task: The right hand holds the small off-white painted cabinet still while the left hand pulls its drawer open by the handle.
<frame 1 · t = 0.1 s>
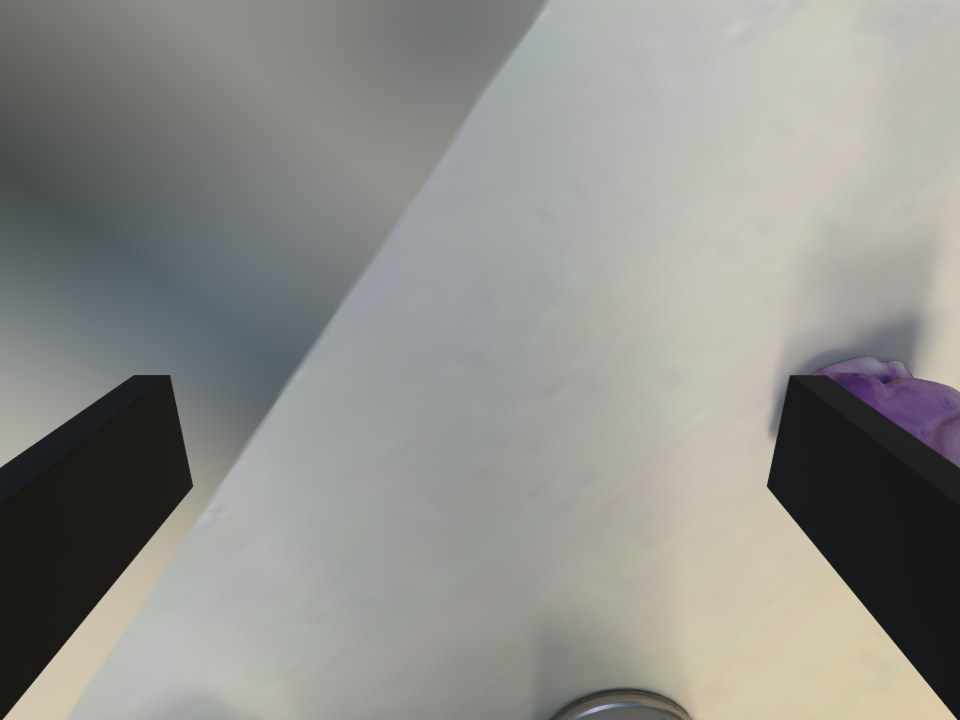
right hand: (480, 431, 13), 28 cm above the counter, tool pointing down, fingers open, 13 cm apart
figurine: (848, 398, 43), on the counter
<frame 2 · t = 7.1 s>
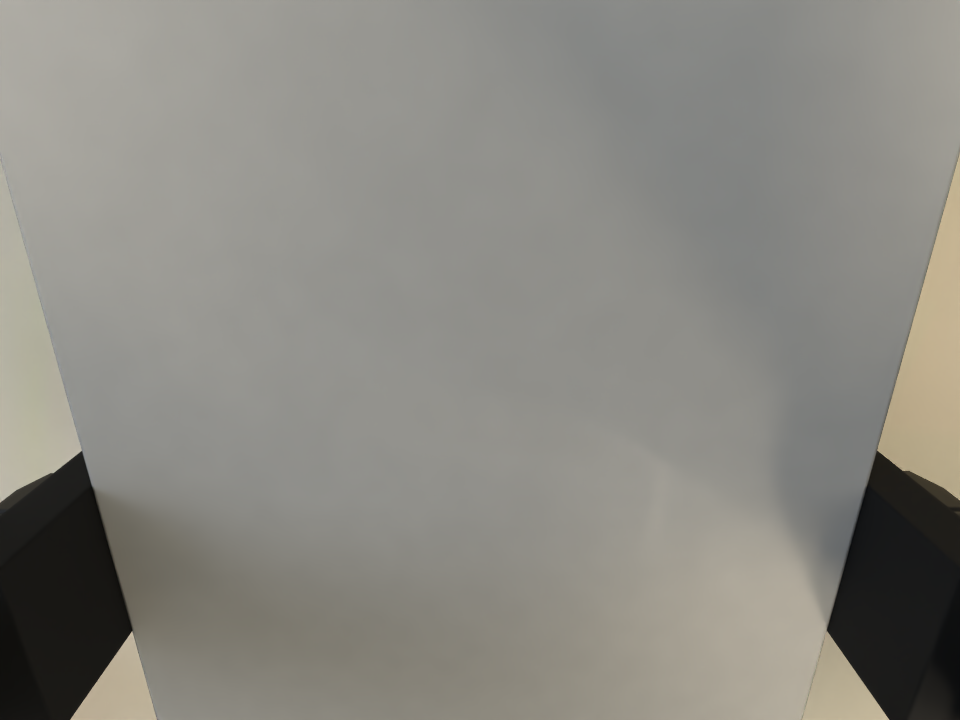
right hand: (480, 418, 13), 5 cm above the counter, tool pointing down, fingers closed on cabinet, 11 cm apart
cabinet: (479, 225, 16), on the counter, touching right hand
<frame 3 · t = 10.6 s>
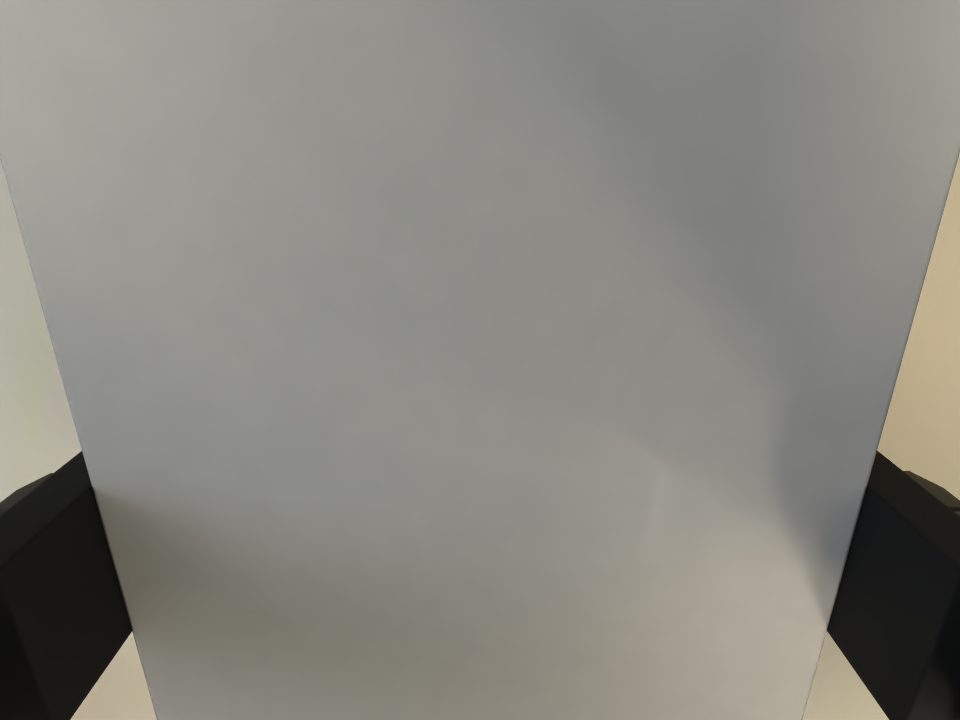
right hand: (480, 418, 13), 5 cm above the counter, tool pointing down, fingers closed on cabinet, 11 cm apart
cabinet: (479, 225, 16), on the counter, touching right hand
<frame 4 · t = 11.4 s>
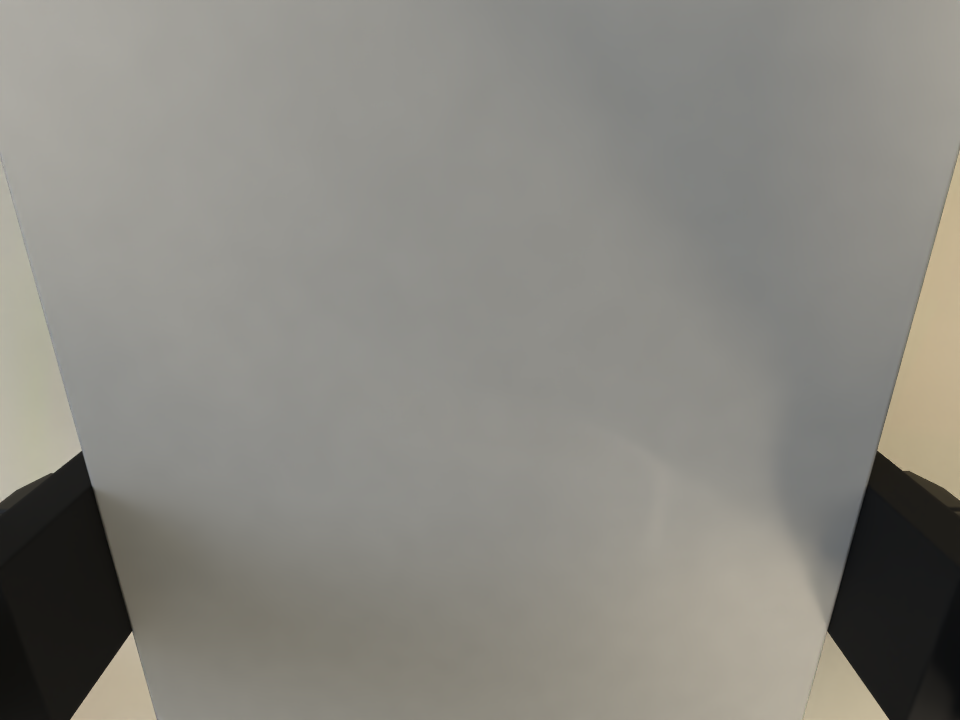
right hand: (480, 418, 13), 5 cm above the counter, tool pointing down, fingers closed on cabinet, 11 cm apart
cabinet: (479, 225, 16), on the counter, touching right hand
when the right hand's fingers open (5 cm above the counter, at t = 13.1 s): cabinet stays where it is, on the counter.
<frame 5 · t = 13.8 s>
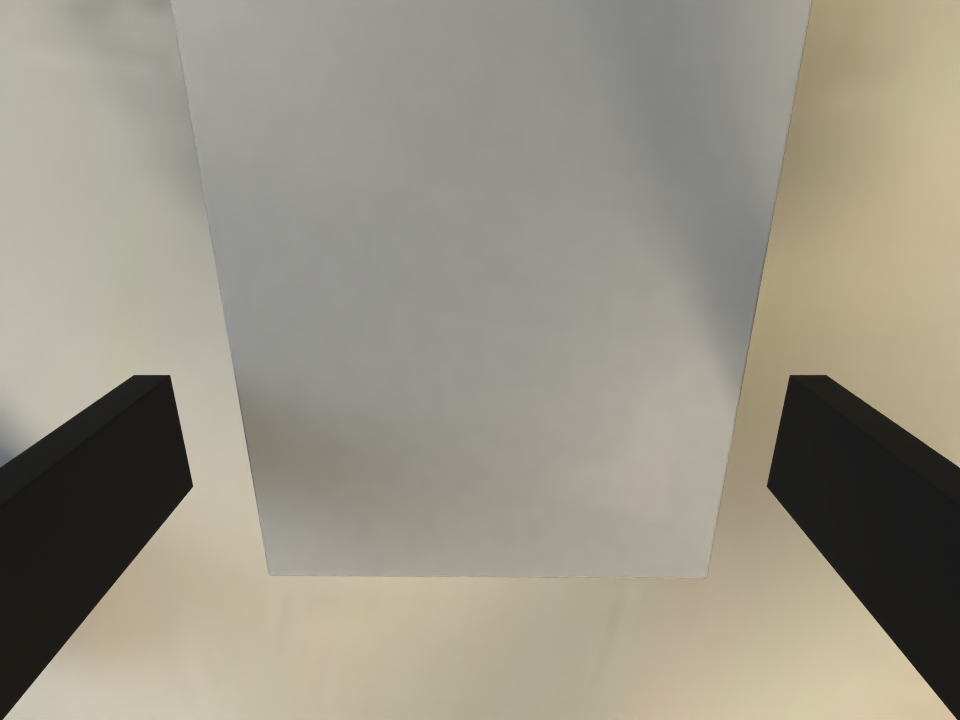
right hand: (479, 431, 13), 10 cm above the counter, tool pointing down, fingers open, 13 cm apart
cabinet: (487, 190, 20), on the counter
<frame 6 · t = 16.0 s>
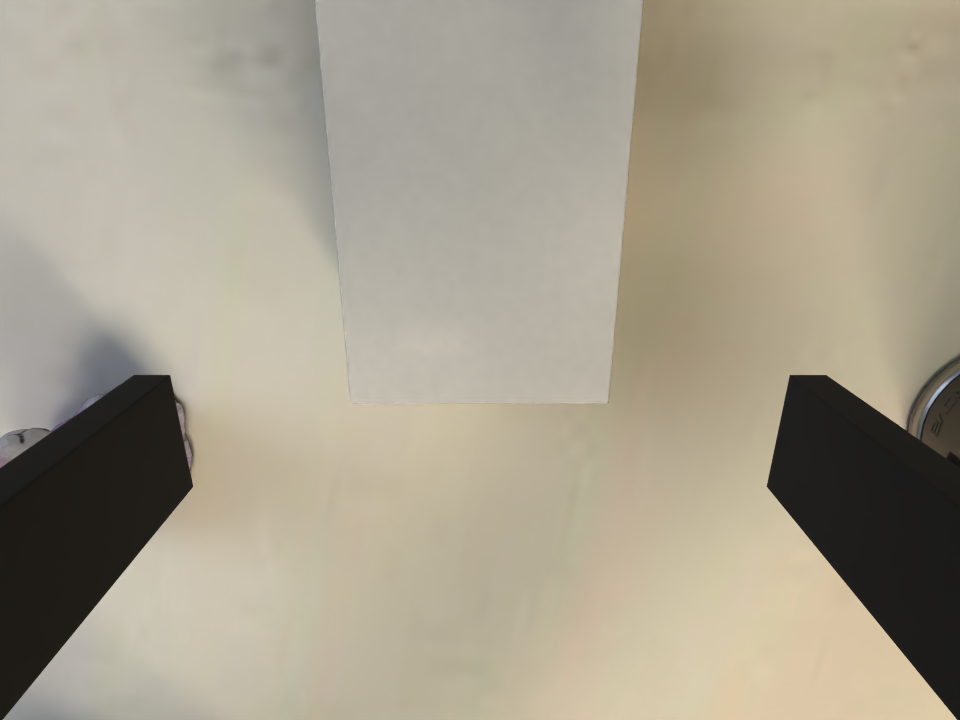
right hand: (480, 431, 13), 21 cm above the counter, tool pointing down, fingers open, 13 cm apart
figurine: (130, 441, 36), on the counter
cabinet: (479, 181, 31), on the counter
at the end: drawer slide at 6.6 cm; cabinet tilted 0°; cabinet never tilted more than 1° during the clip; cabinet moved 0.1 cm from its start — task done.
